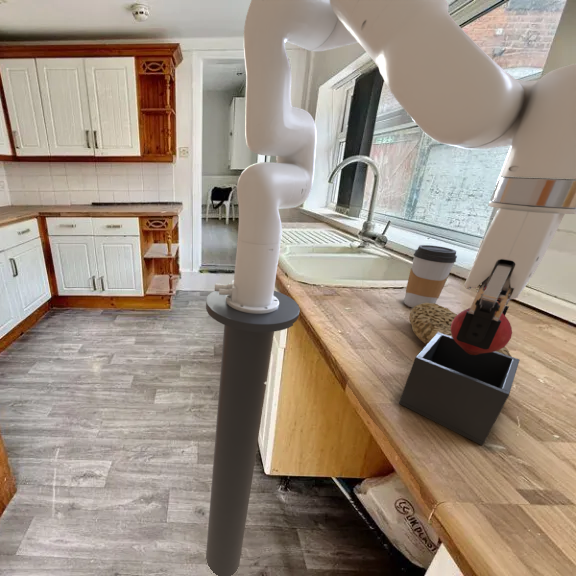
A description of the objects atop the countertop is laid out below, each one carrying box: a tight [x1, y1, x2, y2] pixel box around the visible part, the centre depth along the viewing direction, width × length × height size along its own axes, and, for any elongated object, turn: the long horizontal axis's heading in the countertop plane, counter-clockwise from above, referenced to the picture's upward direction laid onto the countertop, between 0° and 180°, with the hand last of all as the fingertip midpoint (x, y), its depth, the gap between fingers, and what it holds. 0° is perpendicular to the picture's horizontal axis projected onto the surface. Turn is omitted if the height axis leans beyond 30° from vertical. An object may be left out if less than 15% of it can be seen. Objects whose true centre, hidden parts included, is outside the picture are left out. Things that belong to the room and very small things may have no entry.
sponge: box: [409, 303, 512, 357], centre depth 58 cm, size 13×8×20 cm
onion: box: [451, 301, 513, 355], centre depth 40 cm, size 6×6×8 cm
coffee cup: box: [403, 244, 458, 309], centre depth 76 cm, size 8×8×15 cm
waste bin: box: [398, 332, 520, 446], centre depth 44 cm, size 11×9×8 cm
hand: (477, 334), depth 41 cm, fingers closed on onion, 5 cm apart
